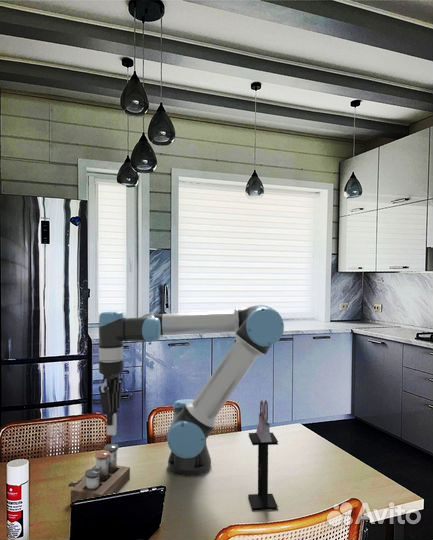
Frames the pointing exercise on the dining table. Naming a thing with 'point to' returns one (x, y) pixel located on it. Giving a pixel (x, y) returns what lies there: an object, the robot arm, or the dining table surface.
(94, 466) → the tactical tomahawk
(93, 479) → the plunger left
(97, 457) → the plunger mid
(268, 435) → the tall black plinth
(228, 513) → the dining table surface
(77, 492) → the block
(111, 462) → the plunger right
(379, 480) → the dining table surface
